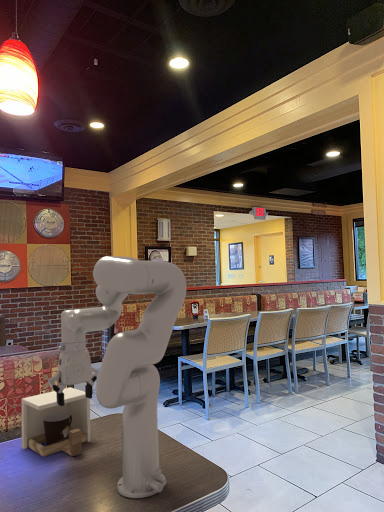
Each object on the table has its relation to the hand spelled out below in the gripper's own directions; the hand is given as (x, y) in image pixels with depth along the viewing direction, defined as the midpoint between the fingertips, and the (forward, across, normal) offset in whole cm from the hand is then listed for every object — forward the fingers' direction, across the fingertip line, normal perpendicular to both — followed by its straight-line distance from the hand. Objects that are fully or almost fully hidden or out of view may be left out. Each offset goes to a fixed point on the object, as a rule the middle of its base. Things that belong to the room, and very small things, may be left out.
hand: (75, 401), depth 120 cm
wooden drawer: (+16, 0, +9) cm, 19 cm away
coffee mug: (+17, 0, +11) cm, 20 cm away
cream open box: (+16, 0, +14) cm, 22 cm away
